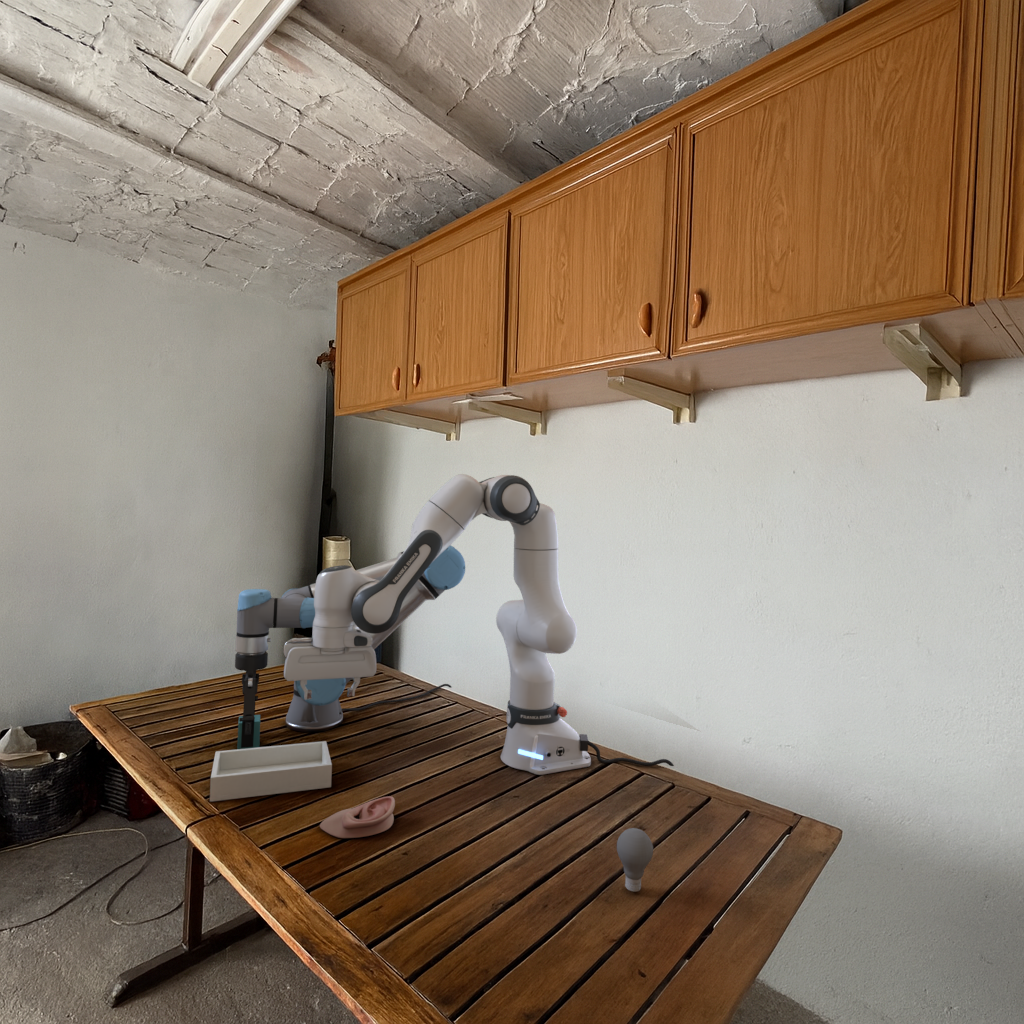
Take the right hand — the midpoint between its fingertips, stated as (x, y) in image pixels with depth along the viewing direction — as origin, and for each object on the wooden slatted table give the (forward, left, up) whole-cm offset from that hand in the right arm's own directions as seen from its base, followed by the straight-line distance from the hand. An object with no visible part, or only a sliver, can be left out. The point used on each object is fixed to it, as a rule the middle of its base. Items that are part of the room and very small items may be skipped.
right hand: (329, 697), depth 144 cm
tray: (+12, +1, -18) cm, 21 cm away
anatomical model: (-6, +24, -18) cm, 30 cm away
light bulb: (-50, +54, -18) cm, 76 cm away
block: (+19, -20, -18) cm, 33 cm away
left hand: (+19, -20, -15) cm, 31 cm away
